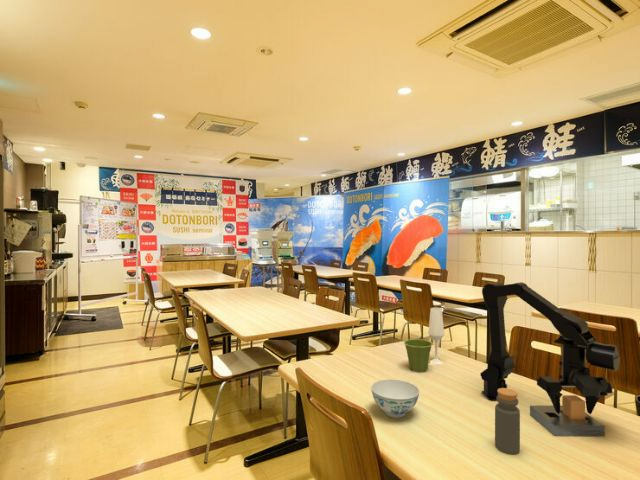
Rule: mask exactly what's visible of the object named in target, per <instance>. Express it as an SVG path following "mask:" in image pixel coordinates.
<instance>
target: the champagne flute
mask: <svg viewBox="0 0 640 480" xmlns="http://www.w3.org/2000/svg"><path fill="white" fill-rule="evenodd" d="M443 318H444V317H443V308H441V307H430V312H429V321H428V332H427V333H428V336H429V337H430V338H431V340H432V341H434V358H433V359H431V360H430V359H429V361H430V362H431V363H434V364H442V363H444V362H443V361H442V360H440V359H439V358H438V354H439V353H438V348H439V347H438V344H439V343H438V342H439V341H440V340H441V339H443V337H444V335H445V330H444V329H445V327H444V319H443Z"/></svg>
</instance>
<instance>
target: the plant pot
mask: <svg viewBox="0 0 640 480" xmlns="http://www.w3.org/2000/svg"><path fill="white" fill-rule="evenodd" d="M403 344H404V346H405V350H406V355H407V361H408V367H409V370H411V369H412V370H411V371H413V370H414V371H413V372H416V371H417V372H420V373H424V372H426V370H427V371H428V368H429V361H430V354H431V350H432V347H433V345H434V343H433V342H432V341H430V340H427V339H421V338H410V339H406V340H404V341H403ZM423 371H424V372H423Z"/></svg>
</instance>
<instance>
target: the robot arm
mask: <svg viewBox="0 0 640 480" xmlns="http://www.w3.org/2000/svg"><path fill="white" fill-rule="evenodd" d="M481 294H482V298H483V302H484V304H485V306H486V308H487V309H488V320H489V321H488V322H489V333H490V335H489V337H490V348H491V349H490V353H489V356H488V359H487V368H486V369H484V370H483V371H481V372H480V378H481V380H483V390H481V394H482V395H483V396H484V397H485V398H486V399H488V400H489V401H497V396H498V391H497V390H498V389H499V388H508V384H507V383H506V382H507V381H506V379H507V378H508V377H509V375H511V374H512V373H513V371H514V368H516V366H515V364H514V363H515V358H514V355H510V354H509V352H508V350H507V337H506V326H505V311H504V310H505V306H506V304H507V300H508V296H509V297H510V296H516V297H518V298H520V299H521V300H522V301H524V302H525V304H527V305H529V306H530V307H532V308H533V309H534V310H536V311H537V312H539V313H540V314H541V315H542V316H544V317H545V318H546V319H547V320H548V321H550V323H551V324H552V325H553V328H555V330H557V332H558V333H559V334H560V335H559V337H558V338H556V339H555V340H553V342H554V343H555V344H559V345H562V347H561V349H562V351H561V354H562V355H561V360H559V365H560V366H561V374H559V376H558V377H559V379H561V380H557V379H556V378H555V377H554V378H553V377H552V376H539V377H537V379H536V385H537V387H539V388H541V390H544V391H545V392H546V394H547V396H548V397H549V399H550V401H551V404H552V406H554V408H555V411H556V412H557V413H558V414H560V406H561V398H562V395H564V394H563V393H561V392H562V390H563V389H564V388H567V389H569V388H571V389H573V388H574V389H575V388H576V389H577V390H578V392H579V393H580V395H582V396H583V397H584V398H585V399H584V401H585V409H586V412H587V414H588V415H591V414H592V413H593V411H594V410H595V407H596V405H597V403H598V401H599V400H600V398H603V397H607V396H608V395H609V394H613V386H612V383H610V382H609V381H608V379H606V378H605V377H603V376H592V375H591V372H590V367H588V366H587V363H588V364H590V366H593V367H597V368H601V369H606V370H610V371H614V372H618V371H619V369H620V364H621V356H620V354H619V350H618V345H616V344H608V343H607V344H606V343H602V342H598V340H597V338H596V337H595V336H594V335H593V333H592V332H591V330H590V329H589V324H588V322H587V321H586V320H584V319H583V318H582V317H579V316H578V315H575V314H574V313H571V312H569V311H566V310H563V309H562V308H559V307H558V306H556V305H555V304H553V303H552V302H551V301H550V300H548V299H547V298H545V297H544V296H542V295H541V294H539V293H538V292H537V291H535V290H534V289H532V288H531V287H529V286H528V284H526V283H525V282H520V281H519V282H515V283H511V284H510V283H509V284H504V283H502V282H492V283H486V284H485V285H484V286H483V287H482V288H481ZM586 362H587V363H586Z"/></svg>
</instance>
